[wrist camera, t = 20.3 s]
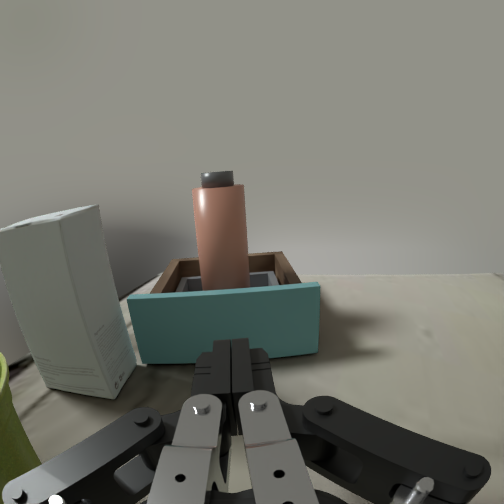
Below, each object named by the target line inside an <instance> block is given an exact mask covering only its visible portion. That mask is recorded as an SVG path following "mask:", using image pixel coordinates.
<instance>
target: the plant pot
mask: <svg viewBox="0 0 504 504" xmlns="http://www.w3.org/2000/svg"><path fill="white" fill-rule="evenodd" d="M8 381H9V369H8V365H7V362H6V360H5V357H4V356H3V355H2V353H1V352H0V504H4V502H3V499H2V491H3V488H4V487H5V485H6V484H7V483H8V482H10V481H11V480H13V479H15V478H17V477H19V476H21V475H23V474H25V473H27V472H29V471H31V470H32V469H34V468H36V467H38V466H40V465H42V463H41V462H40V460H39V458H38V456H37V455H36V453H35V451H34V449H33V447H32V445H31V443H30V441H29V439H28V437H27V435H26V433H25V431H24V429H23V427H22V424H21V422H20V420H19V418H18V415H17V413H16V411H15V408H14V406H13V403H12V394H11V391H10V387H9V384H8Z"/></svg>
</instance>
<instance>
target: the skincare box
mask: <svg viewBox="0 0 504 504" xmlns="http://www.w3.org/2000/svg"><path fill="white" fill-rule="evenodd" d="M0 265H1V269H2V273H3V276H4V280H5V283H6V287H7V290H8V293H9V296H10V300H11V302H12V305H13V308H14V311H15V314H16V317H17V320H18V323H19V325H20V328H21V330H22V333H23V335H24V338H25V340H26V343H27V345H28V348H29V350H30V352H31V355H32V357H33V359H34V361H35V364H36V366H37V368H38V370H39V372H40V374H41V376H42V378H43V380H44V382H45V384H46V386H47V387H49V388H54V389H59V390H63V391H68V392H73V393H79V394H84V395H90V396H96V397H102V398H109V399H115V398H116V397H117V395H118V394H119V392H120V390H121V388H122V386H123V385H124V383H125V382H126V380H127V379H128V377H129V376H130V374H131V373H132V371H133V370H134V368H135V367H136V361H137V360H136V356H135V353H134V350H133V347H132V344H131V341H130V338H129V334H128V331H127V328H126V324H125V321H124V318H123V314H122V311H121V307H120V303H119V299H118V296H117V292H116V288H115V284H114V280H113V276H112V271H111V267H110V263H109V258H108V253H107V248H106V244H105V239H104V233H103V228H102V223H101V217H100V211H99V205H91V206H85V207H80V208H74V209H70V210H65V211H60V212H55V213H51V214H47V215H42V216H38V217H34V218H30V219H26V220H24V221H21V222H18V223H15V224H12V225H9V226H6V227H4V228H1V229H0Z"/></svg>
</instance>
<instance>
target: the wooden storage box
mask: <svg viewBox="0 0 504 504" xmlns="http://www.w3.org/2000/svg"><path fill="white" fill-rule="evenodd" d="M248 258H249V273H253V272H267V271H273V272H274V274H275V276H276V279H277V281H278V283H279V285H288V284H299V283H302V282H301V281H300V279H299V278H298V276H297V274H296V273H295V271H294V270H293V268H292V267H291V265H290V263H289V262H288V260H287V259H286V257H285V256H284V254H283V252H282V251H281V252H267V253H253V254H248ZM197 276H201V273H200V264H199V257H198V258H184V259H172V260H171V262H170V263H169V265H168V266H167V268H166V270H165V271H164V272H163V274H162V276H161V277H160V279H159V280H158V282H157V283H156V285H155V286H154V288H153V289H152V291H151V292H150V294H156V293H175V292H176V289H177V287H178V285H179V283H180V281H181V278H182V277H197Z"/></svg>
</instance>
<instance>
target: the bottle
mask: <svg viewBox="0 0 504 504" xmlns="http://www.w3.org/2000/svg"><path fill="white" fill-rule="evenodd" d="M201 180H202V187H201V188H194V189H192V193H193V205H194V216H195V226H196V236H197V246H198V254H199V264H200V273H201V281H202V289H203V291H209V290H224V289H238V288H250V273H249V258H248V244H247V227H246V213H245V196H244V185H240V184H239V185H234V181H233V171H225V172H224V171H223V172H212V173H201Z"/></svg>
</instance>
